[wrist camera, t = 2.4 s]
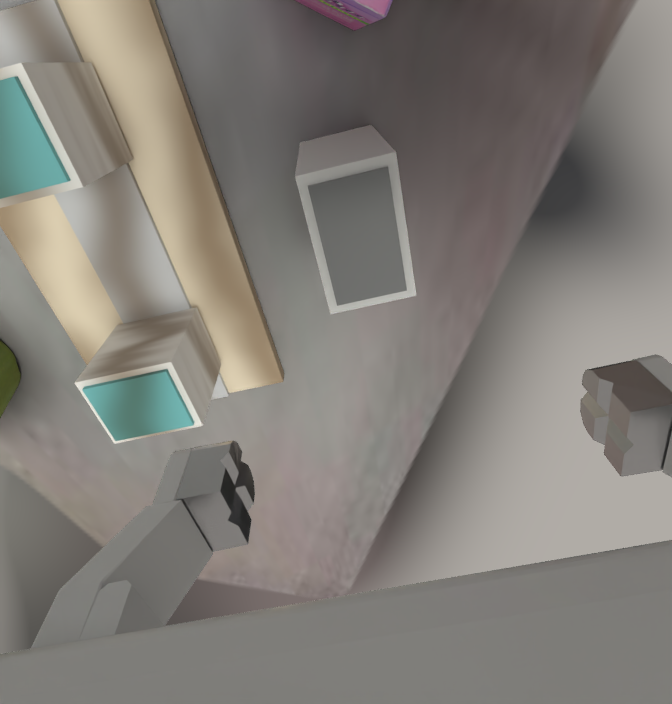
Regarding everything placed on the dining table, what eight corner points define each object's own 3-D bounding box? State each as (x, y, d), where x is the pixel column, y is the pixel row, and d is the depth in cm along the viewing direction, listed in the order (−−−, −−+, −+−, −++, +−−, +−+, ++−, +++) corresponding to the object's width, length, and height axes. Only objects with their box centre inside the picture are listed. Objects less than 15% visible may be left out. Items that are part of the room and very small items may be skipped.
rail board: (146, -24, 24) (71, -62, 17) (284, 373, 38) (276, 450, 30) (-96, 45, 25) (-268, 39, 18) (123, 406, 39) (78, 489, 31)
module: (371, 124, 28) (396, 152, 20) (389, 233, 32) (417, 297, 23) (300, 142, 29) (294, 177, 20) (325, 248, 32) (330, 316, 24)
